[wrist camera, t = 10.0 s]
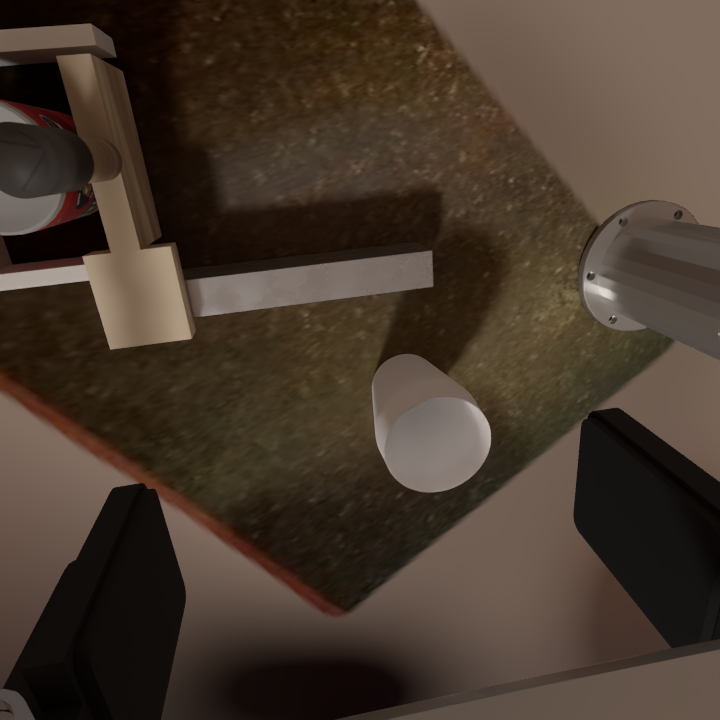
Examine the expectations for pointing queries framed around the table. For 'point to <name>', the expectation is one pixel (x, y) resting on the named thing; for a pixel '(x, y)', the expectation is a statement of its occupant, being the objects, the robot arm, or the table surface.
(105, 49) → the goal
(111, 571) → the robot arm
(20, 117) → the canned food
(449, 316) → the table surface
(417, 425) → the cup
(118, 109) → the kicker figure
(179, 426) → the table surface
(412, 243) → the rail
